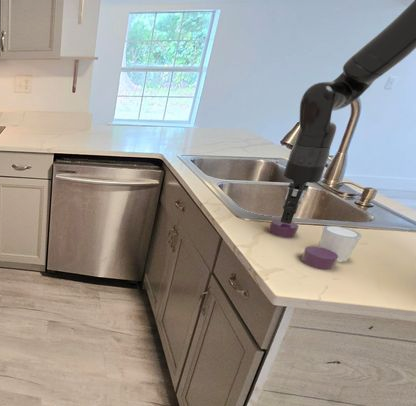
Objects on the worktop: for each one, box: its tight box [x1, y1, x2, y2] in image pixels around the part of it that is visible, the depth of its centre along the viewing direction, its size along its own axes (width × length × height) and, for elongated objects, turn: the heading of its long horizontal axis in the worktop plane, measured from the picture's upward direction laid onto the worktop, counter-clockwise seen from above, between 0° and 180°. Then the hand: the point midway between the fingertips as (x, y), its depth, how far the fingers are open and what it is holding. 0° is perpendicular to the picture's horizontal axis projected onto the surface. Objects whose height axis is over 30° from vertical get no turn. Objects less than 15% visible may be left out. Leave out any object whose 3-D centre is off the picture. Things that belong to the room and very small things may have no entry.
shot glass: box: [318, 225, 362, 263], centre depth 90 cm, size 7×7×7 cm
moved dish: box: [268, 218, 299, 239], centre depth 103 cm, size 6×6×3 cm
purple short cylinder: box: [300, 245, 338, 271], centre depth 89 cm, size 6×6×3 cm
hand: (288, 217), depth 101 cm, fingers open, 8 cm apart
